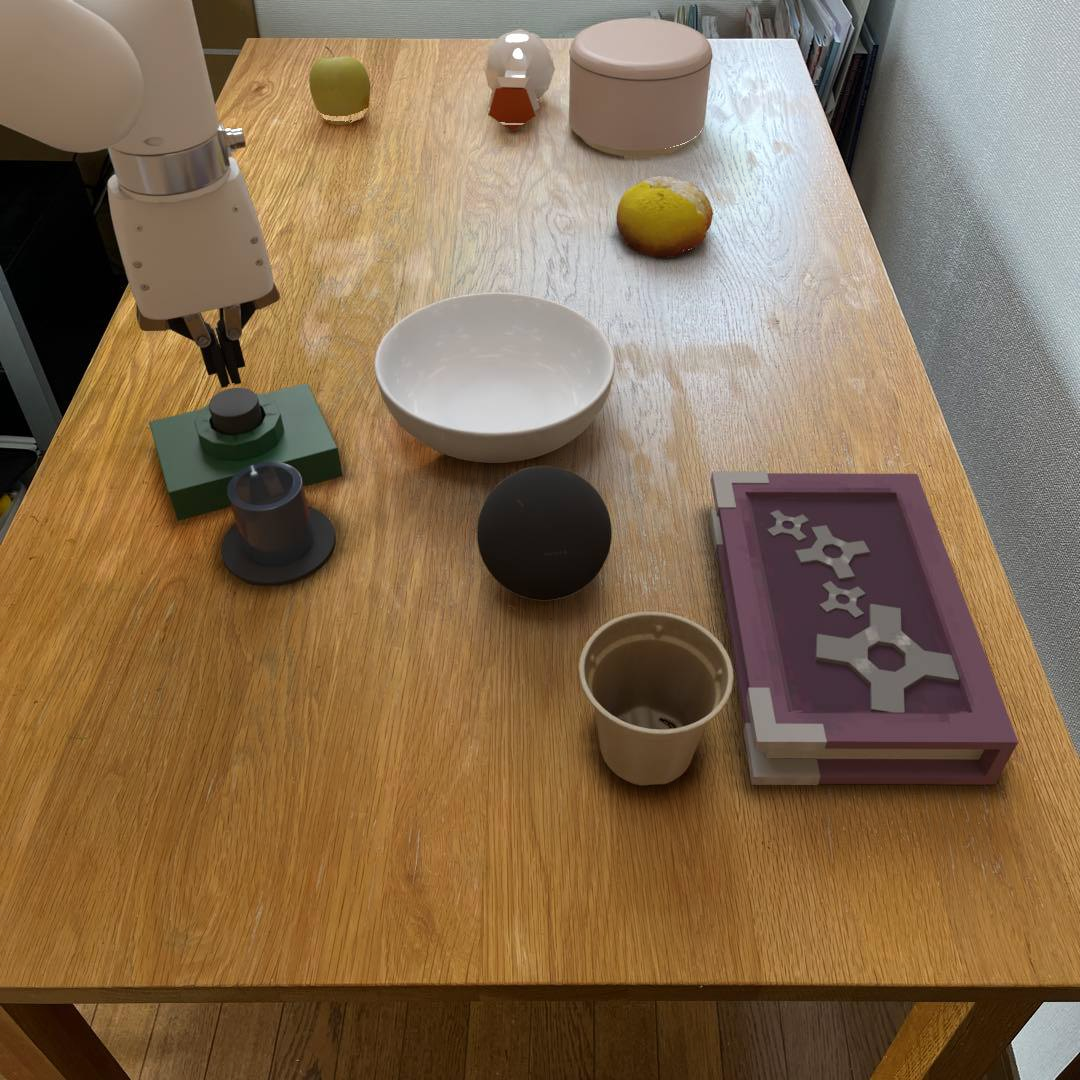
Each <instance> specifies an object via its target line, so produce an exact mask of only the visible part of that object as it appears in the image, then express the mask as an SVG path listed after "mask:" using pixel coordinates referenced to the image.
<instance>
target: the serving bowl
mask: <svg viewBox="0 0 1080 1080" xmlns="http://www.w3.org/2000/svg"><path fill="white" fill-rule="evenodd" d="M373 369H374V376H375V381H376V383H377V386H378V389H379V392H380V395H381V397H382V400H383V402H384V405H385V406H386V408H387V409H388V411H389V413H390V414H391V416H392V418H393V419H394V420H395V421H396V422H397V424H398V425H399V426H400V427H401V428H402V429H403V430H404V431H405V432H406V433H407V434H409V435H410V436H412V438H414V439H415V440H417V441H418V442H419V443H421V444H422V445H424V446H426V447H427V448H430V449H432V450H434V451H436V452H438V453H441V454H443V455H446V456H449V457H452V458H455V459H460V460H462V461H463V460H464V461H469V462H476V463H486V464H487V463H488V464H503V463H513V462H514V463H515V462H520V461H525V460H530V459H534V458H538V457H540V456H543V455H546V454H549V453H551V452H553V451H556V450H557V449H560V448H562V447H563V446H565V445H567V444H568V443H570V442H571V441H573V440H574V439H575V438H577V437H579V436H580V435H581V434H582V433H583V432H584V431H586V430H587V428H589V426H590V425H591V424H592V423H593V422H594V421H595V420H596V418H597V417H598V415H599V414H600V412H601V411H602V409H603V407H604V406H605V403H606V401H607V399H608V396H609V393H610V391H611V387H612V384H613V381H614V377H615V373H616V372H615V371H616V357H615V351H614V349H613V346H612V344H611V342H610V340H609V338H608V337H607V335H606V334H605V333H604V332H603V330H602V329H601V328H600V327H599V326H598V325H597V324H596V323H595V322H594V321H593V320H591V319H590V318H589V317H587V316H586V315H584V314H582V313H581V312H579V311H577V310H575V309H574V308H572V307H569V306H567V305H564V304H563V303H560V302H557V301H555V300H552V299H547V298H544V297H540V296H535V295H530V294H523V293H516V292H515V293H513V292H479V293H478V292H477V293H470V294H463V295H457V296H454V297H447V298H445V299H442V300H437V301H435V302H432V303H429V304H427V305H425V306H422V307H421V308H418V309H417V310H414V311H413V312H411V313H409V314H408V315H406V316H404V317H403V318H401V319H400V320H399V321H398V322H396V323H395V324H394V325H393V326H392V327H391V328H390V329H389V330H388V331H387V332H386V334H384V337H383V338H382V339H381V341H380V342H379V345H378V347H377V348H376V352H375V355H374V368H373Z"/></svg>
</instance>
